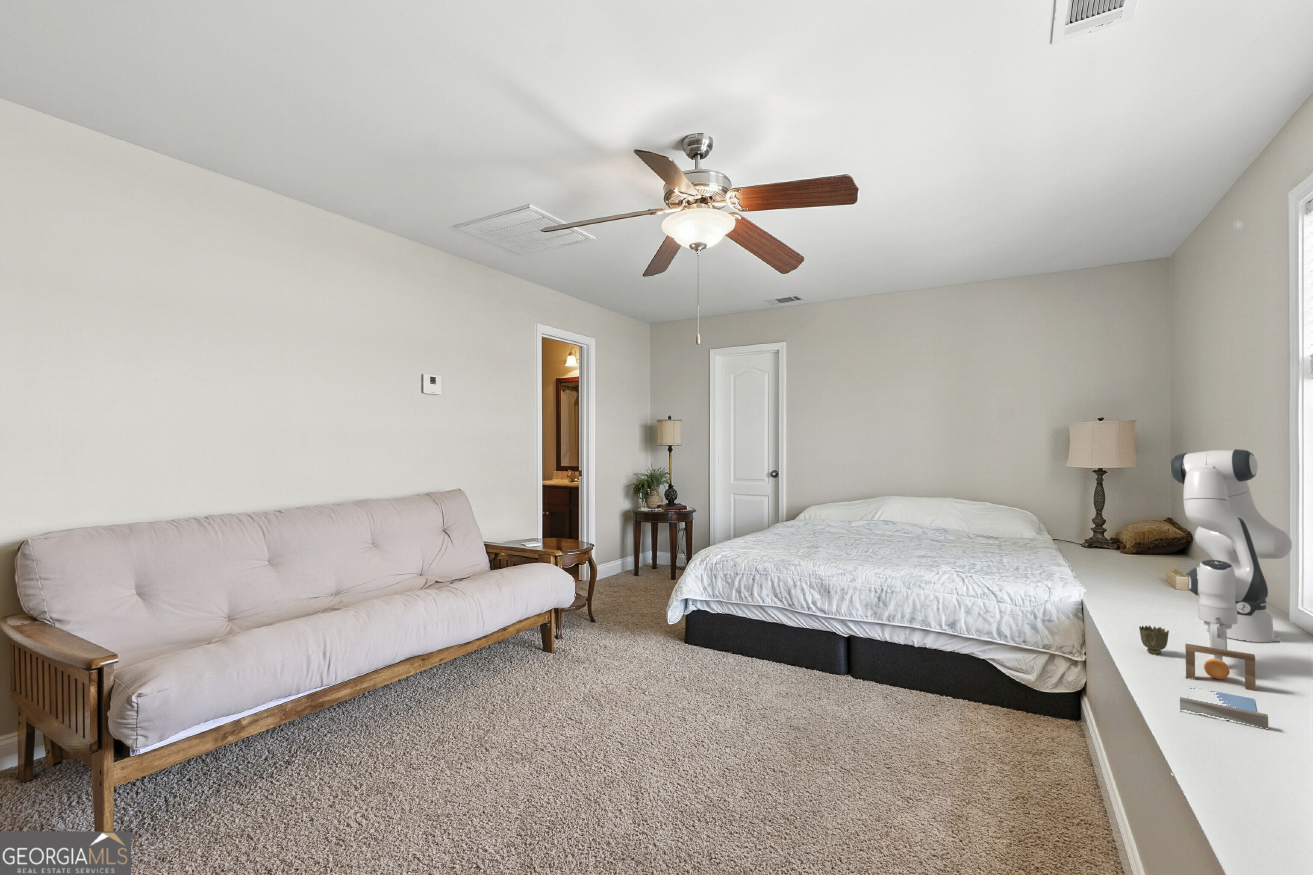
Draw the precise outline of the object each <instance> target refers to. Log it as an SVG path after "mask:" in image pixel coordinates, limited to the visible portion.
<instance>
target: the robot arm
mask: <svg viewBox="0 0 1313 875" xmlns="http://www.w3.org/2000/svg"><path fill="white" fill-rule="evenodd" d="M1169 468H1170V470H1169V471H1170V474H1171V476H1172V478H1173V479H1174V480H1175V481H1176V482H1178V484H1182V485H1183V495H1182V496H1183V508H1184V514H1185V516H1186V518H1187V519H1188V520H1189V521H1190V522H1191V523H1192V524H1194V525H1196V526H1197V528H1196V529H1195V532H1194V540H1195V541H1196V544H1197V546H1198V547H1199V548H1201V549H1202V550H1204V551H1205V552H1206V553H1207V554H1208V555H1209V556H1210V557H1211V558H1212V559H1206V560H1202V561H1201V562H1200V563H1199V566H1195V567H1194V568H1192V569H1190V570H1189V571H1188V572H1187V576H1188V578H1187V581H1188V582H1187V589H1188V590H1189V592H1190V593H1192V594H1194V595H1195V596H1198V597H1199V598H1198V602H1197V607H1198V608H1197V609H1198V610H1197V611H1198V613H1197V614H1198V615H1197V617H1198V619H1199V620H1201V621H1203V625H1204V626H1206V632H1208V631H1209V632H1208V634H1209V645H1210V646H1209V647H1211V648H1217V649H1224V650H1228V638H1229V639H1233V640H1237V639H1238V640H1239V641H1243V640H1246V641H1245V642H1251V641H1252V643H1271V642H1270V641H1278V642H1277V643H1280V642H1279V641H1281V642H1282V638H1281V637H1279V636H1278V635H1277V634H1276V633H1274V619H1273V616H1272V615H1271V614H1270V613H1269V612H1268V611H1267V610H1266V609H1267V598H1268V597H1269V586H1268V583H1267V581H1266V578H1265V575H1264V574H1263V570H1262V568H1261V565H1260V563H1259V559H1263V560H1273V559H1274V560H1276V559H1284V558H1286V557H1287V556H1288V555H1289V554H1290V552H1291V550H1292V547H1293V543H1292V540H1291V537H1290V535H1289V534H1287V532H1285V531H1284V530H1283V529H1281V528H1278V527H1276V526H1275V525H1273V524H1272V523H1271V522H1270V521H1268V520H1267V519H1266V518H1265V517H1264V516H1263V515H1262V514H1261V513H1260V512H1259V511H1258V509H1257V507H1256V506H1255V503H1254V499H1253V496H1252V494H1251V490H1250V485H1249V483H1248V481H1250V480H1252V479H1253V478H1255V477H1256V475H1257V472H1258V469H1259V464H1258V461H1257V459H1256V457H1255V455H1254V454H1253V453H1252V452H1251V451H1249V450H1247V449H1213V450H1212V449H1210V450H1205V451H1195V452H1190V453H1187V452H1184V453H1179V454H1175V456H1173V458H1172V459H1171V461H1170V466H1169ZM1238 640H1237V641H1238ZM1213 656H1214V658H1213V659H1219V660H1221V661H1223V662H1224V660H1223V657H1224V656H1218V655H1213Z"/></svg>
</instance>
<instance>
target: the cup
mask: <svg viewBox="0 0 1313 875" xmlns="http://www.w3.org/2000/svg"><path fill="white" fill-rule="evenodd" d="M1138 628H1139V634H1140V639H1141V643H1142V644H1143V646H1144V647H1146V648H1147V649H1146V651H1147V653H1149V654H1151V655H1154V656H1155V655H1157V656H1159V655H1162V651H1163V650H1165V649H1166V647H1167V645H1168V640H1169V634H1170V632H1169V629H1168V630H1166V629H1165V628H1162V627H1161V626H1159V627H1157V626H1153V627H1152V626H1151V625H1148V626H1147V625H1140V626H1139V627H1138Z"/></svg>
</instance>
